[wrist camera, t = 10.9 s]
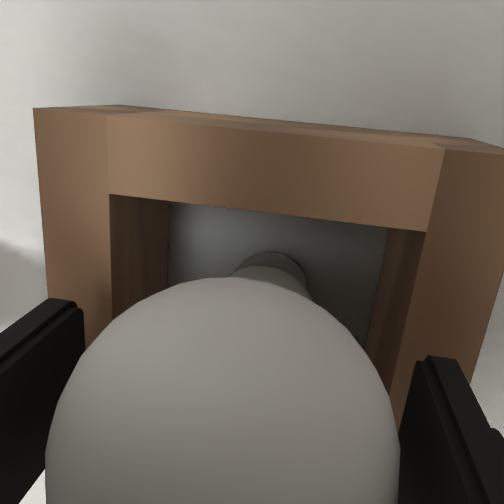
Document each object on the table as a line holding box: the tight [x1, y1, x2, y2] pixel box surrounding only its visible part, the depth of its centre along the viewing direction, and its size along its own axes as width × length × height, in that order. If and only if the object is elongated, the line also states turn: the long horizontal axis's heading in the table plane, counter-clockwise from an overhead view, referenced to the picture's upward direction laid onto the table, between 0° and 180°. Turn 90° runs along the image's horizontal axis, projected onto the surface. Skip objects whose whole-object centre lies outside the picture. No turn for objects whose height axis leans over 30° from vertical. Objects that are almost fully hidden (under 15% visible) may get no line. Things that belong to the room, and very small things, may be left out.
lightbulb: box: [45, 252, 400, 504], centre depth 11 cm, size 6×6×11 cm
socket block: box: [33, 105, 504, 434], centre depth 14 cm, size 11×11×4 cm
